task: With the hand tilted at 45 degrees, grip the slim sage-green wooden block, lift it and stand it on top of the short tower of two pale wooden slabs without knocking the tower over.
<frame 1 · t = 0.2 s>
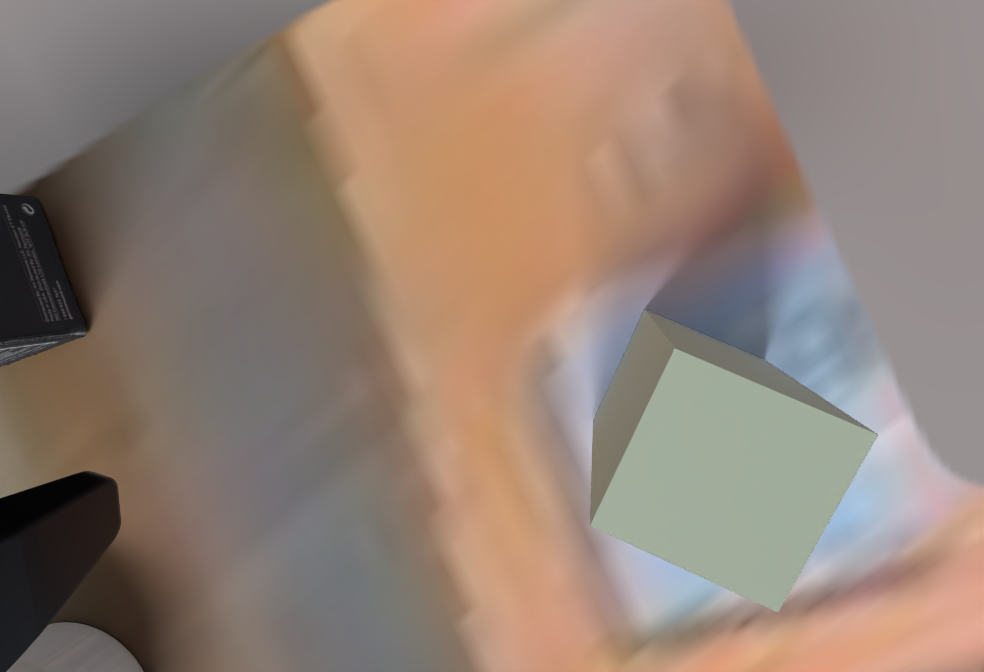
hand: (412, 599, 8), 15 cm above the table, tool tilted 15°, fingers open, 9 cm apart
sage block: (676, 391, 22), on the table
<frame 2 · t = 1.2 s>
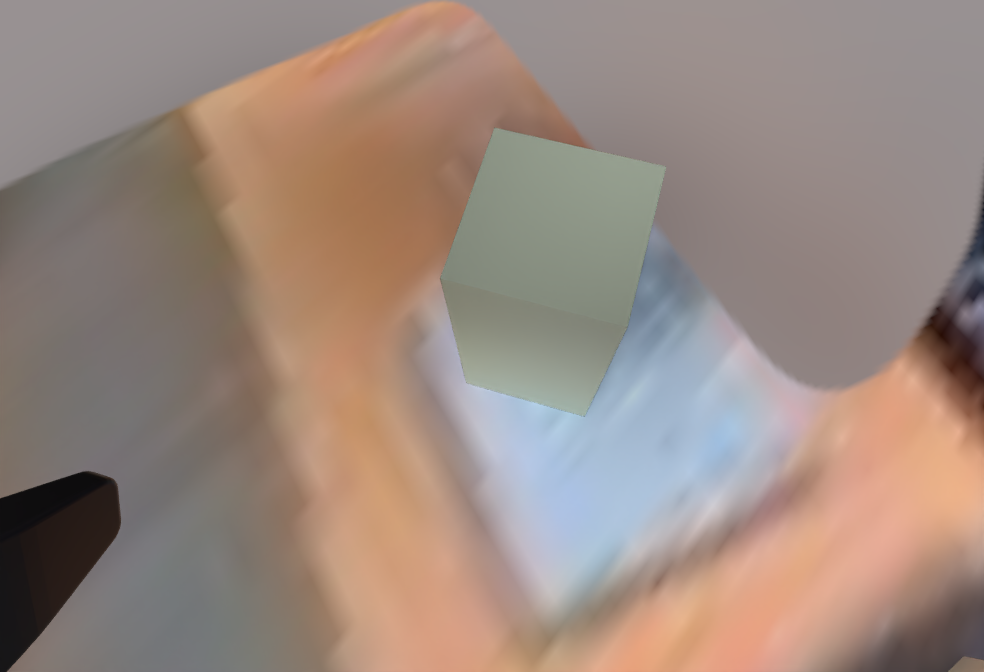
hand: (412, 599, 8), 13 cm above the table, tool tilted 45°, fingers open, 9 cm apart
sage block: (540, 344, 24), on the table
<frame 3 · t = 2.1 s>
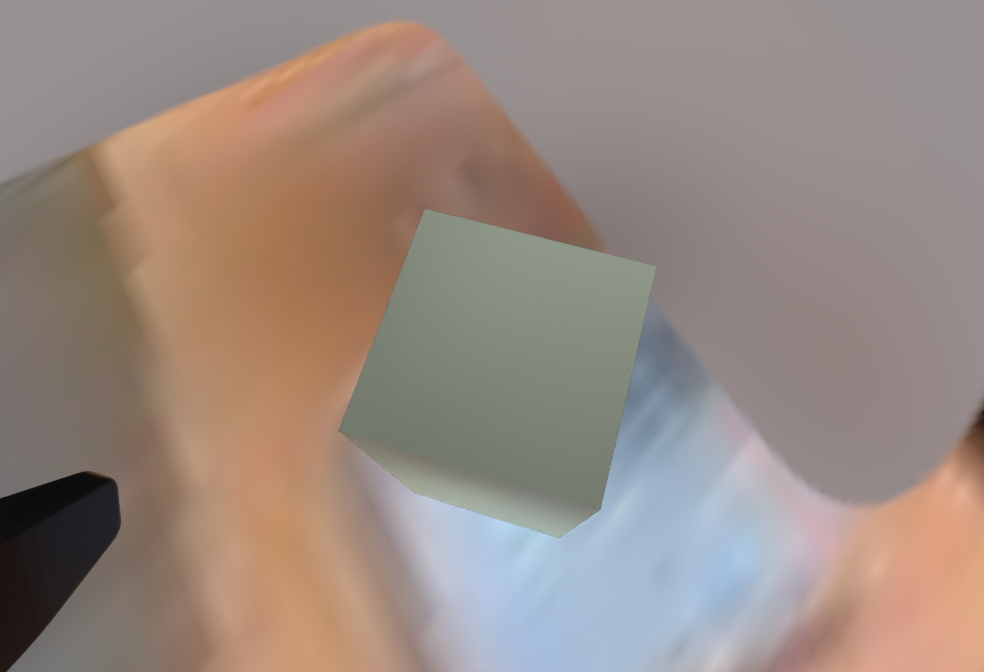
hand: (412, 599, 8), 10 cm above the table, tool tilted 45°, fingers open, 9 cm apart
sage block: (507, 443, 19), on the table
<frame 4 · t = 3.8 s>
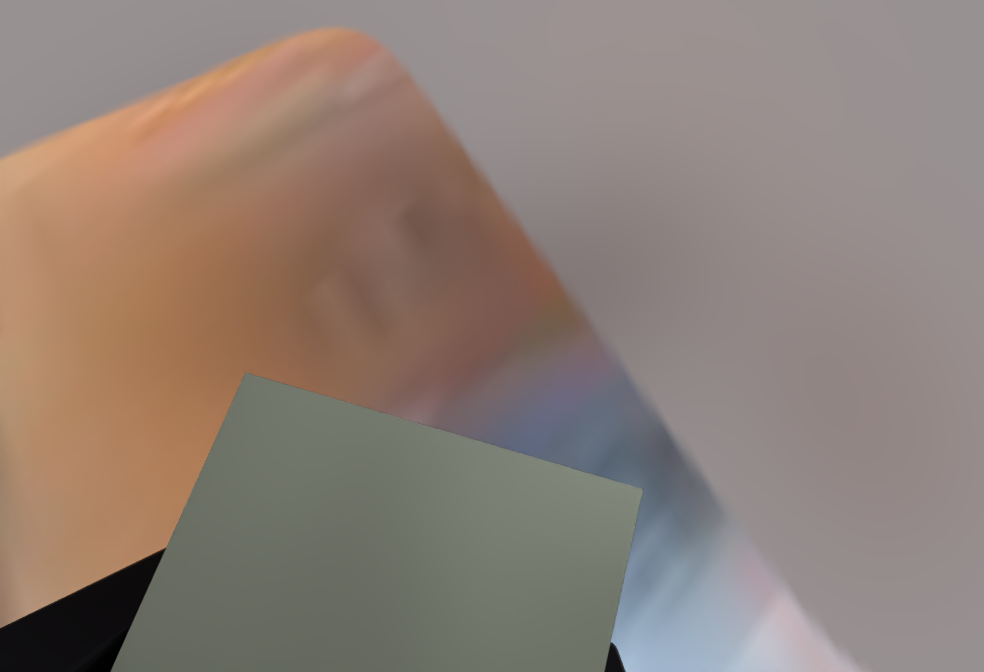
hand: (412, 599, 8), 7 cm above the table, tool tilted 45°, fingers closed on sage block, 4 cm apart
sage block: (451, 602, 14), on the table, touching gripper
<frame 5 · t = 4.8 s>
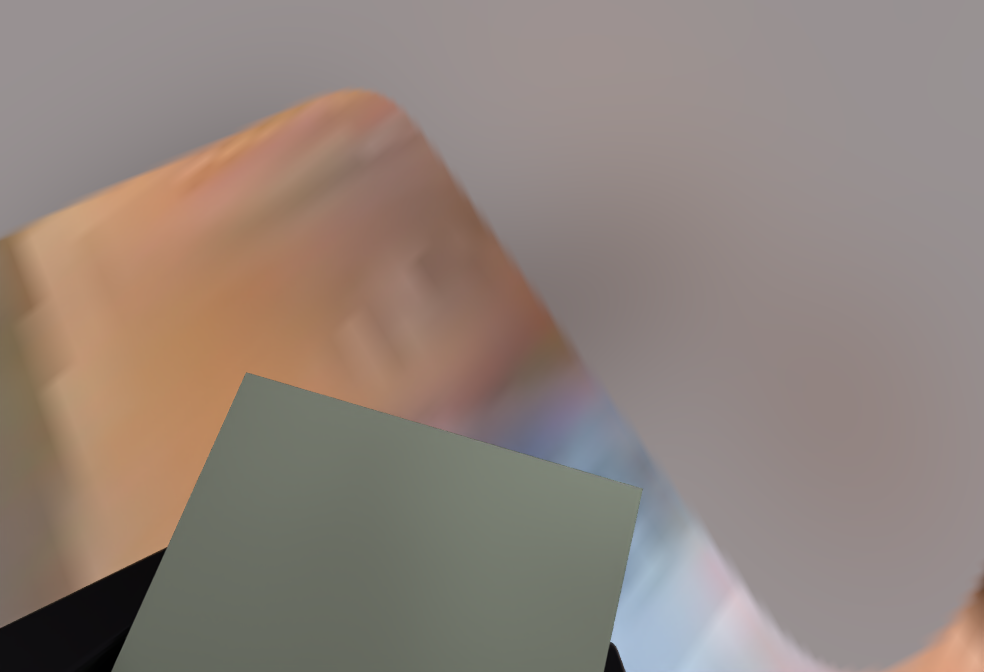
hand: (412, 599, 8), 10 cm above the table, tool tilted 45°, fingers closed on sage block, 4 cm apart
sage block: (450, 601, 14), point 3 cm above the table, touching gripper
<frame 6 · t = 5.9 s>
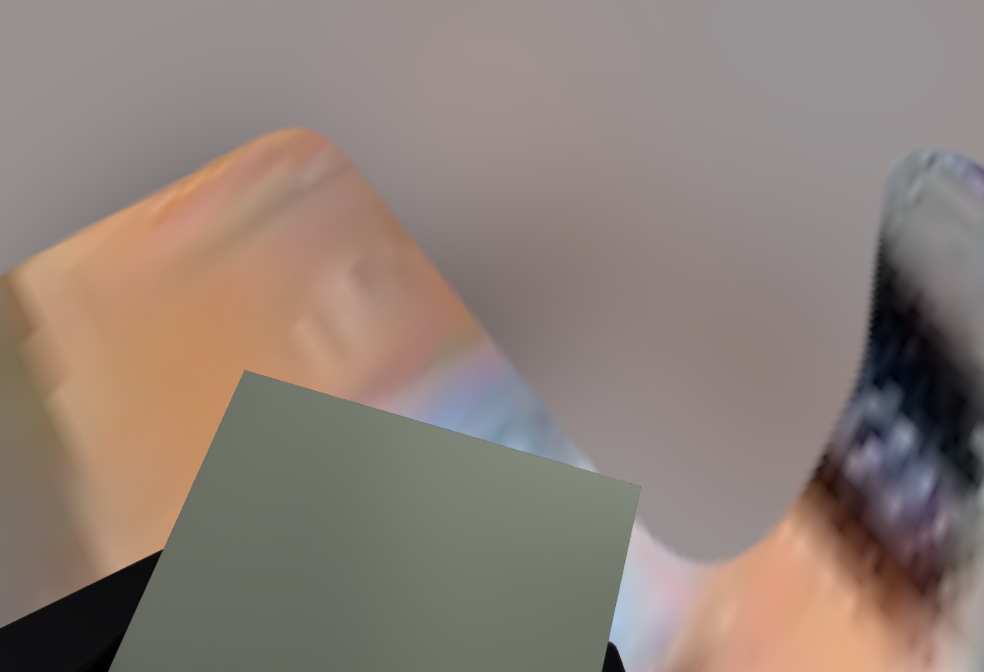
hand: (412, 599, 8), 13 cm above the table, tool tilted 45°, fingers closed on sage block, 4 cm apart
sage block: (450, 600, 14), point 7 cm above the table, touching gripper
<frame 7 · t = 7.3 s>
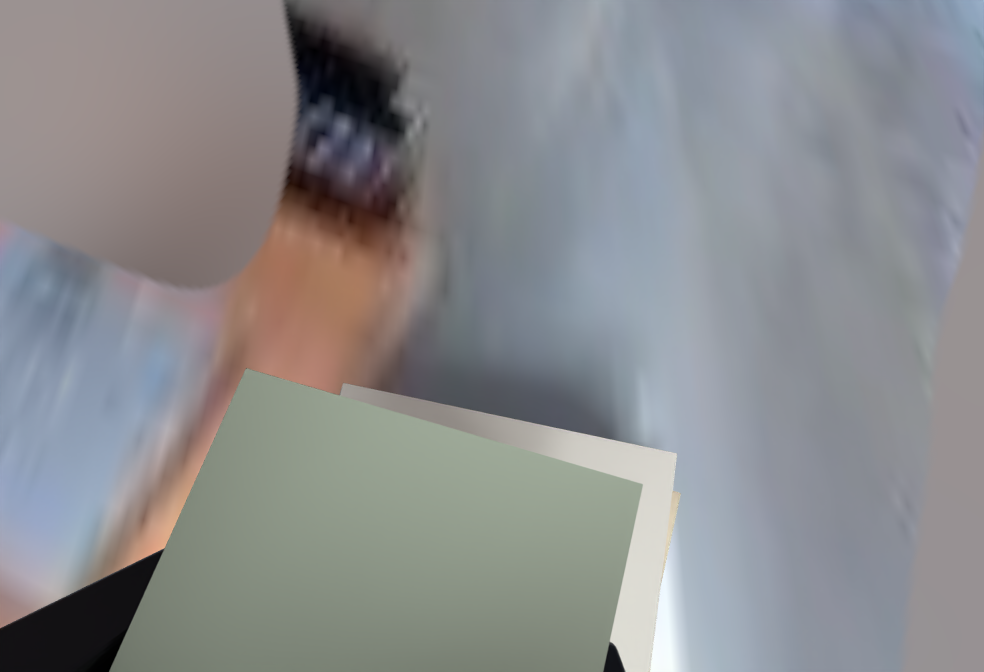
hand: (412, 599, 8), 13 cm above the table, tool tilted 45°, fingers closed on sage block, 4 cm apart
tower base slab: (485, 598, 21), on the table, touching tower top slab
tower top slab: (472, 592, 19), point 2 cm above the table, touching tower base slab
sage block: (451, 600, 14), point 7 cm above the table, touching gripper
when the fingers open (12 cm above the table, at t = 8.6 s): sage block drops 2 cm, resting on tower top slab.
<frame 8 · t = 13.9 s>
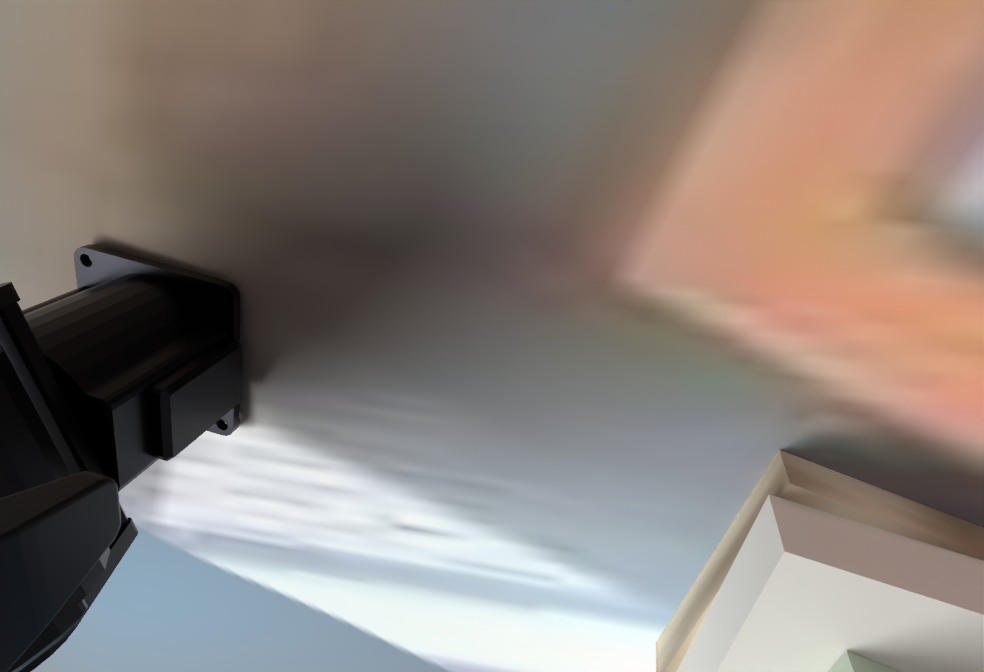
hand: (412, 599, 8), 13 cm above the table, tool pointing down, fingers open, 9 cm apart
tower base slab: (840, 594, 23), on the table, touching tower top slab
tower top slab: (860, 656, 21), point 2 cm above the table, touching sage block, tower base slab
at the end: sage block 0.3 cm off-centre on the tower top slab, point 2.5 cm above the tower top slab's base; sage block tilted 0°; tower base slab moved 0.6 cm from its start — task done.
